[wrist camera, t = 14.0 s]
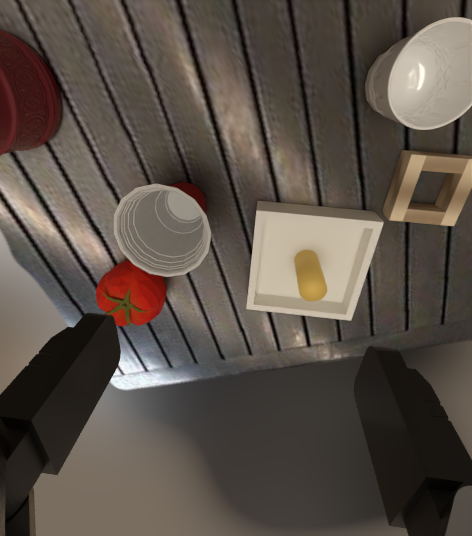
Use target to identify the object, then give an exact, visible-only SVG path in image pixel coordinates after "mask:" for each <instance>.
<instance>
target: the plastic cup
mask: <svg viewBox="0 0 472 536" xmlns="http://www.w3.org/2000/svg"><path fill="white" fill-rule="evenodd" d="M114 235H115V237H116V240H117V242H118V245H119V247H120V250H121V251H122V252H123V253H124V254H125V256H126V257H127V258H128V259H129V260H130V261H131V262H132V263H133V264H134V265H135V266H137V267H139V268H141V269H142V270H144V271H146V272H148V273H150V274H154V275H160V276H165V277H171V276H177V275H183V274H186V273H188V272H189V271H191V270H192V269H194V268H196V267H197V266H199V265H200V263H201V262H202V260H203V259H204V257H205V256H206V255H207V253H208V251H209V245H210V239H211V231H210V227H209V223H208V219H207V216H206V201H205V197H204V195H203V193H202V192H201V191H200V189H199V188H197V187H196V186H194V185H193V184H190V183H185V182H181V183H176V184H172V185H167V186H165V185H160V184H152V185H147V186H142V187H137V188H136V189H134V190H133V191H132V192H130V193H129V194H128V195H126V196H125V197H124V198H122V200H121V202H120V204H119V206H118V208H117V210H116V212H115V214H114Z"/></svg>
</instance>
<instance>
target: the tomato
mask: <svg viewBox="0 0 472 536" xmlns="http://www.w3.org/2000/svg"><path fill="white" fill-rule="evenodd" d="M166 290H167V286H166V283H165V281H164V278H163V276H160V275H154V274H150V273H148V272H146V271H144V270H142V269H141V268H139V267H137V266H135V265H134V264H133V263H132V262H131V261H130V260H126V261H123V262H121V263H119V264H117V265H116V266H115V267H114V268H113V269H112V270H111V271H109V272H108V273H106V274H105V275H104V276H103V277H102V279H101V280H100V282H99V284H98V286H97V289H96V298H97V304H98V307H99V308H101V309H102V310H103V311H105V312H106V314H107V315H112V316H113V317H114V318H115V322H116V325H119V326H125V325H127V324H128V325H129V326H130V327H132V326H131V325H130V323H134V324H135V325H142V324H145V323H148V322H149V321H151V320H152V319H153V318H155V317H156V316H157V315H158V314H159V313H160V311H161V309H162V307H163V305H164V302H165V297H166Z"/></svg>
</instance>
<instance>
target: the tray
mask: <svg viewBox="0 0 472 536" xmlns="http://www.w3.org/2000/svg"><path fill="white" fill-rule="evenodd" d="M383 223H384V222H383V221H382V220H381V218H380V217H379V216H378V215H377V214H376V213H375V211H365V210H354V209H343V208H332V207H321V206H310V205H299V204H288V203H277V202H267V201H258V202H257V210H256V220H255V230H254V240H253V250H252V260H251V270H250V280H249V290H248V300H247V309H252V310H261V311H270V312H279V313H288V314H297V315H306V316H315V317H324V318H333V319H342V320H351V319H352V316H353V313H354V310H355V307H356V304H357V301H358V298H359V295H360V292H361V289H362V286H363V283H364V280H365V277H366V274H367V271H368V268H369V265H370V262H371V259H372V256H373V253H374V250H375V247H376V244H377V241H378V238H379V235H380V232H381V229H382V226H383ZM302 250H312V251H314V252H315V253H316V254H317V256H318V259H319V262H320V265H321V269H322V272H323V275H324V278H325V282H326V285H327V293H326V295H325V296H324V297H323V298H322V299H321V300H318V301H314V302H311V301H306V300H304V299H303V298H302V297H301V296H300V294H299V289H298V282H297V276H296V270H295V263H294V259H295V256H296V255H297V253H299V252H300V251H302Z"/></svg>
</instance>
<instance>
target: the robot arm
mask: <svg viewBox="0 0 472 536" xmlns="http://www.w3.org/2000/svg"><path fill="white" fill-rule="evenodd" d="M120 354H121V350H120V344H119V338H118V333H117V328H116V322H115V318H114V317H113V316H112V315H105V314H97V313H86V314H85V315H84V316H83V317H82V318H81V320H80V321H79V322H78V323H77V324H76V326H75V327H74V328H73V327H67V328H66V329H64V330H62V331H61V332H59V333H58V334H56V335H55V336H53V337H52V338H51V339H50V340H49V341H48V342H47V343H46V344H45V345H44V346H43V348H42V349H41V350H40V351H39V354H36V356H35V357H34V358H33V359H32V360H31V361H30V362H29V365H28V366H26V367H25V368H24V369H23V370H22V371H21V372H20V373H19V374H18V376H17V377H16V378H15V379H14V380H13V381H12V382H11V384H10V385H9V386H8V387H7V388H6V389H5V390H4V391H3V392H2V394H1V395H0V536H36V526H35V500H34V488H33V486H34V484H35V483H36V481H37V479H38V478H39V476H40V474H41V473H47V474H54V475H57V474H58V473H59V471H60V469H61V467H62V466H63V464H64V462H65V460H66V458H67V457H68V455H69V453H70V451H71V450H72V448H73V446H74V444H75V442H76V441H77V439H78V437H79V435H80V433H81V431H82V430H83V428H84V426H85V424H86V423H87V421H88V419H89V417H90V415H91V414H92V412H93V410H94V408H95V407H96V404H97V403H98V401H99V399H100V397H101V396H102V394H103V392H104V390H105V389H106V387H107V385H108V383H109V381H110V380H111V378H112V376H113V374H114V372H115V371H116V369H117V367H118V364H119V360H120ZM354 397H355V402H356V405H357V409H358V413H359V416H360V420H361V424H362V427H363V431H364V435H365V438H366V442H367V446H368V449H369V453H370V457H371V460H372V464H373V468H374V471H375V475H376V479H377V483H378V486H379V490H380V494H381V497H382V501H383V505H384V508H385V512H386V516H387V519H388V523H389V526H395V527H401V528H406V529H407V532H408V535H409V536H472V460H471V458H470V456H469V454H468V452H467V450H466V449H465V447H464V445H463V443H462V441H461V439H460V438H459V436H458V434H457V432H456V430H455V429H454V427H453V425H452V423H451V421H449V420H448V416H447V414H446V412H445V410H444V408H443V407H442V406H441V405H440V401H439V399H438V397H437V395H436V394H435V392H434V390H433V388H432V386H431V385H430V384H429V383H428V382H427V381H426V379H424V377H423V376H422V375H421V374H420V373H419V372H418V371H417V370H416V369H410V368H407V366H406V364H405V362H404V360H403V358H402V356H401V354H400V352H399V351H398V350H397V349H392V348H384V347H375V346H369V347H368V348H367V350H366V353H365V355H364V358H363V360H362V363H361V365H360V368H359V370H358V373H357V376H356V378H355V382H354Z"/></svg>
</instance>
